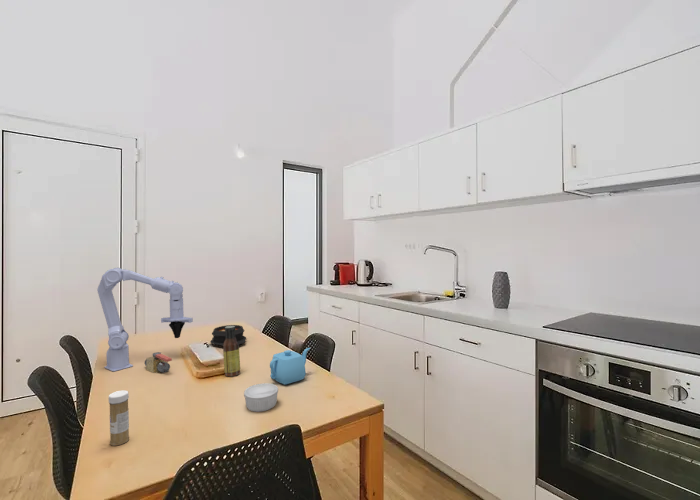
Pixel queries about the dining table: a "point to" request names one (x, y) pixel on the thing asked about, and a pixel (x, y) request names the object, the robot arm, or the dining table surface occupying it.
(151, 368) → the valve fixture
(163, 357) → the lever
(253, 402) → the ramekin
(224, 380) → the dining table surface
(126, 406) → the sprinkles bottle
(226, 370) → the sauce bottle
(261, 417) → the dining table surface
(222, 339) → the casserole
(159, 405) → the dining table surface
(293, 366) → the teapot
